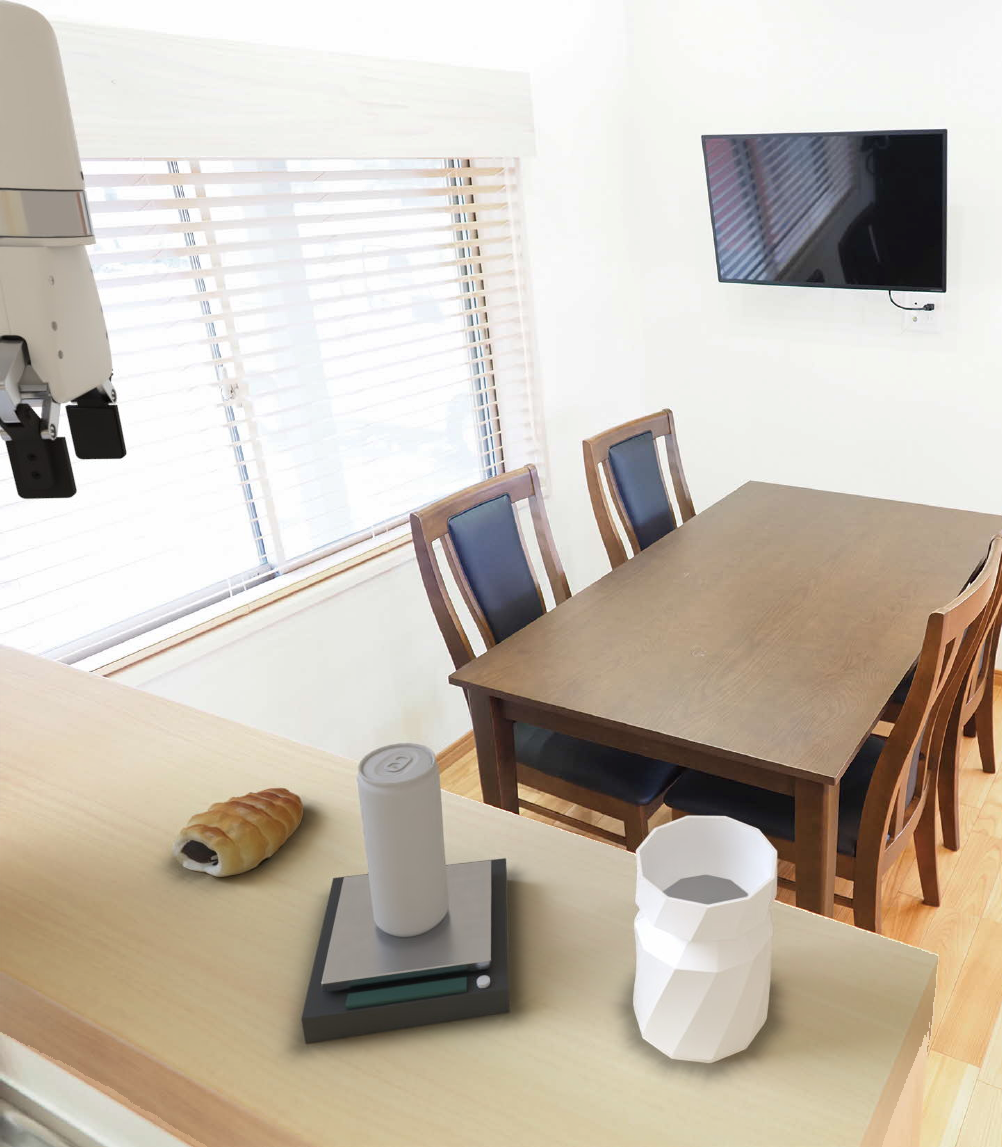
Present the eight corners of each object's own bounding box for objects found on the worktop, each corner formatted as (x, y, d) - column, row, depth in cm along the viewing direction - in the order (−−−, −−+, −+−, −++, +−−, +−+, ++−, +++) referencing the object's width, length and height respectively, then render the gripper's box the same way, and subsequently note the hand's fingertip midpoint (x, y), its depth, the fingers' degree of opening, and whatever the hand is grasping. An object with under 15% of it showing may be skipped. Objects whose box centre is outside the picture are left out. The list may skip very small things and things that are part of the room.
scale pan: (322, 993, 59) (320, 983, 59) (344, 886, 68) (343, 876, 68) (491, 969, 62) (491, 959, 62) (491, 868, 71) (491, 859, 71)
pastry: (262, 799, 81) (256, 760, 80) (328, 819, 79) (323, 779, 78) (165, 867, 73) (156, 824, 71) (236, 890, 71) (228, 848, 70)
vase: (723, 1089, 58) (731, 929, 53) (605, 1026, 61) (604, 872, 57) (791, 993, 65) (804, 844, 60) (682, 942, 69) (686, 799, 64)
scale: (305, 1046, 59) (300, 1015, 58) (336, 902, 70) (332, 874, 69) (509, 1014, 62) (508, 984, 61) (507, 881, 73) (505, 854, 72)
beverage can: (358, 932, 63) (338, 776, 59) (401, 885, 68) (385, 736, 63) (425, 948, 62) (410, 790, 58) (464, 899, 67) (452, 749, 62)
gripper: (13, 211, 69) (64, 446, 75) (-126, 222, 53) (-47, 517, 60) (132, 216, 71) (173, 445, 77) (32, 228, 55) (92, 513, 62)
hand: (77, 476), depth 68 cm, fingers open, 9 cm apart
